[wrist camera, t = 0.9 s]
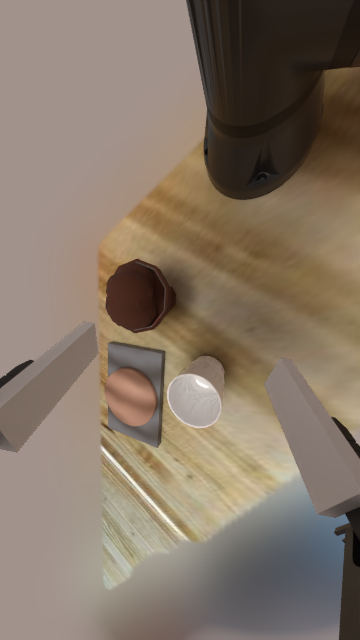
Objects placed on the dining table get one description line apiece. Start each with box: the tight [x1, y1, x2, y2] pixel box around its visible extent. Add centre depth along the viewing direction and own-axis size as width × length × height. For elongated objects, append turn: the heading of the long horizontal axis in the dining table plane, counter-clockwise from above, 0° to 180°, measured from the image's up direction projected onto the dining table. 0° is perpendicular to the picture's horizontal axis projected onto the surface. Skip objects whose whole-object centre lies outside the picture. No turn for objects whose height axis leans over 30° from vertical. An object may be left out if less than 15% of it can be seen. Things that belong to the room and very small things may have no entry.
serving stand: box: [105, 342, 165, 448], centre depth 37 cm, size 22×14×3 cm, turn 177°
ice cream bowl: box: [106, 259, 176, 333], centre depth 27 cm, size 11×11×15 cm
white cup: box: [167, 356, 225, 428], centre depth 27 cm, size 8×8×10 cm
